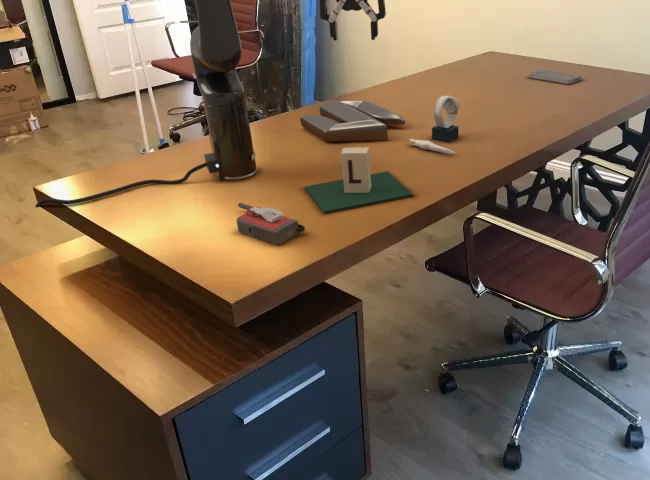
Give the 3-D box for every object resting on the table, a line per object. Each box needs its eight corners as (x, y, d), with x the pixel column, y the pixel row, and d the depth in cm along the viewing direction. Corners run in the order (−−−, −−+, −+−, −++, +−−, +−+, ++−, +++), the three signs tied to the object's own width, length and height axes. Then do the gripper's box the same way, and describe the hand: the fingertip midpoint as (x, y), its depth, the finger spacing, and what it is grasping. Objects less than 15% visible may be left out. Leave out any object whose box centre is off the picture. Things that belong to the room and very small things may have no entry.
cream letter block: (344, 193, 142) (340, 153, 137) (346, 186, 145) (343, 147, 140) (369, 193, 142) (366, 153, 137) (371, 186, 145) (368, 147, 140)
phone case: (569, 84, 214) (569, 80, 214) (527, 77, 224) (528, 73, 223) (581, 79, 219) (582, 75, 219) (541, 72, 229) (541, 69, 228)
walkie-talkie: (313, 230, 128) (243, 208, 138) (311, 210, 126) (240, 189, 136) (281, 248, 122) (211, 223, 132) (278, 227, 120) (207, 203, 130)
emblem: (419, 101, 185) (370, 129, 164) (419, 120, 187) (371, 150, 167) (335, 92, 196) (279, 117, 175) (337, 110, 199) (282, 137, 178)
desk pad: (323, 213, 135) (323, 211, 134) (304, 188, 147) (304, 186, 146) (412, 196, 141) (412, 193, 141) (387, 173, 153) (387, 171, 152)
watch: (462, 135, 174) (462, 94, 168) (446, 144, 169) (446, 101, 163) (444, 132, 177) (444, 91, 171) (428, 141, 172) (427, 98, 166)
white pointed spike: (406, 145, 168) (406, 138, 167) (413, 143, 170) (413, 136, 169) (452, 158, 160) (452, 150, 159) (459, 155, 161) (459, 147, 160)
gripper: (312, -39, 135) (320, 43, 144) (381, -41, 134) (384, 42, 143) (319, -43, 142) (326, 37, 150) (384, -45, 140) (387, 35, 149)
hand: (354, 39), depth 146 cm, fingers open, 8 cm apart
